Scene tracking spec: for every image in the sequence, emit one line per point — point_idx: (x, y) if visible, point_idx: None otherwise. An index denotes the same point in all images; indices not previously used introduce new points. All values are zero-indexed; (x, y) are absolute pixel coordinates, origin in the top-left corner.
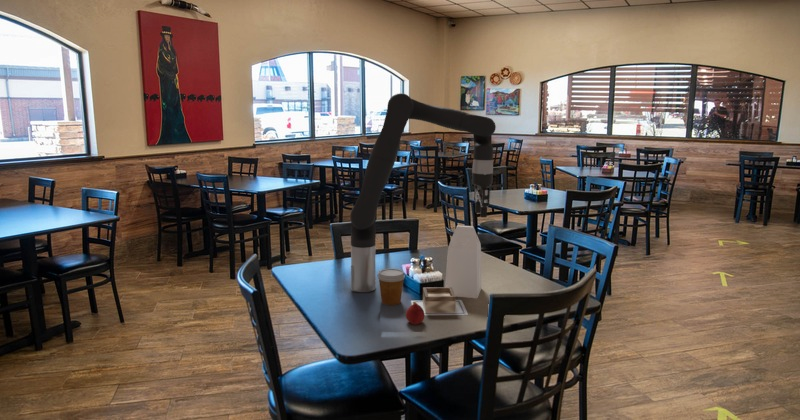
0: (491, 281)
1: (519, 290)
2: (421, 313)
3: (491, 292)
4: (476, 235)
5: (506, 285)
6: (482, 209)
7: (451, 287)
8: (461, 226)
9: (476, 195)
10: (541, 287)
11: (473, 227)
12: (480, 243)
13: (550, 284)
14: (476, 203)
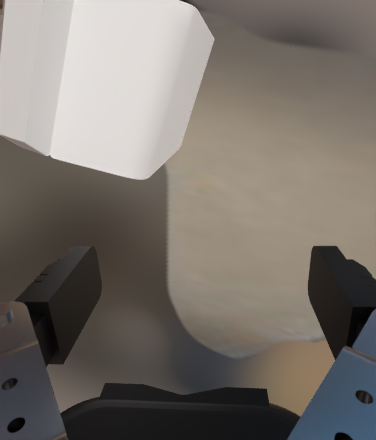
0: (278, 201)
1: (187, 257)
2: None
3: (171, 177)
4: (52, 155)
5: (233, 235)
6: (25, 298)
7: (1, 3)
8: (4, 25)
9: (303, 418)
10: (210, 316)
11: (16, 140)
12: (139, 179)
13: (233, 342)
14: (350, 311)
